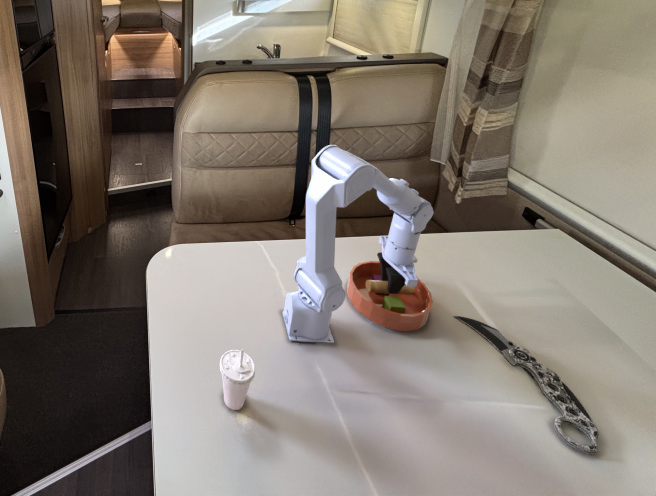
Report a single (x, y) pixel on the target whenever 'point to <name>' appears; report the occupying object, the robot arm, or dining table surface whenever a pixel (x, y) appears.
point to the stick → (381, 287)
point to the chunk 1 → (378, 277)
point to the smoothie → (236, 377)
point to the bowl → (372, 302)
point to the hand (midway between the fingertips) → (389, 287)
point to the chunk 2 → (393, 304)
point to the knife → (544, 385)
